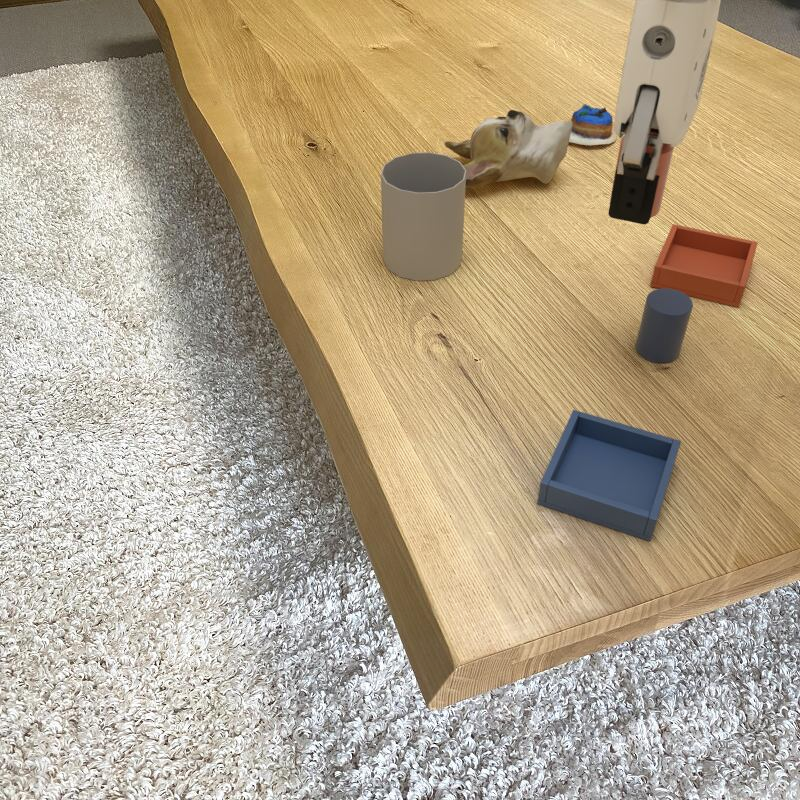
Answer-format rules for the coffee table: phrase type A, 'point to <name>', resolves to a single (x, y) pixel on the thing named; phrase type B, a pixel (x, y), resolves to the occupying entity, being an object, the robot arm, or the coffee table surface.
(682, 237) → the terracotta tray
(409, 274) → the cup
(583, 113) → the dessert
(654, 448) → the blue tray
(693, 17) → the robot arm
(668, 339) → the blue peg
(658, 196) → the terracotta peg
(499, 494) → the coffee table surface
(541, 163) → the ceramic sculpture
